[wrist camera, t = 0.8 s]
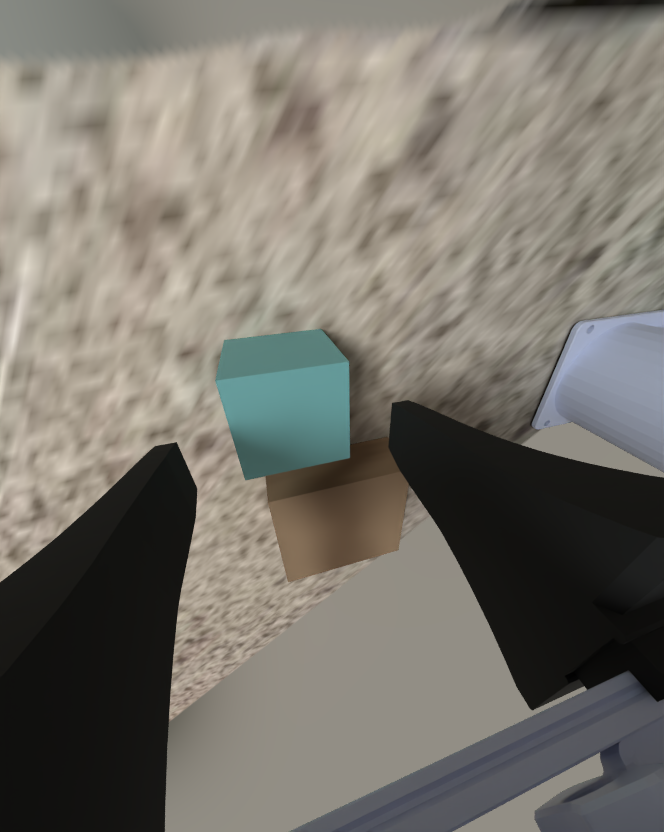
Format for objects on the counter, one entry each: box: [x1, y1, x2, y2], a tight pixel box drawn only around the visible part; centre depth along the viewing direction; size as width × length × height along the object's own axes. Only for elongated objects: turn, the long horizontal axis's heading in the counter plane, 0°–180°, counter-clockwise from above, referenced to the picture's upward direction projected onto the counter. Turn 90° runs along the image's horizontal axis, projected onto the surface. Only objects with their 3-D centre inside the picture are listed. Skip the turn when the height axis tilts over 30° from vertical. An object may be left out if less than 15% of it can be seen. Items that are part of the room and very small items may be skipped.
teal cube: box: [215, 329, 350, 480], centre depth 12 cm, size 4×4×4 cm
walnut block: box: [266, 437, 409, 582], centre depth 18 cm, size 8×8×4 cm
